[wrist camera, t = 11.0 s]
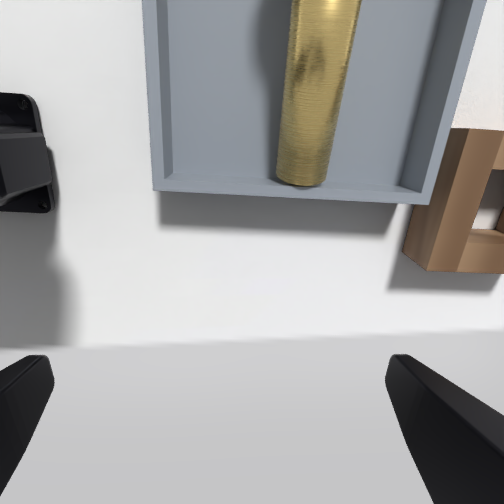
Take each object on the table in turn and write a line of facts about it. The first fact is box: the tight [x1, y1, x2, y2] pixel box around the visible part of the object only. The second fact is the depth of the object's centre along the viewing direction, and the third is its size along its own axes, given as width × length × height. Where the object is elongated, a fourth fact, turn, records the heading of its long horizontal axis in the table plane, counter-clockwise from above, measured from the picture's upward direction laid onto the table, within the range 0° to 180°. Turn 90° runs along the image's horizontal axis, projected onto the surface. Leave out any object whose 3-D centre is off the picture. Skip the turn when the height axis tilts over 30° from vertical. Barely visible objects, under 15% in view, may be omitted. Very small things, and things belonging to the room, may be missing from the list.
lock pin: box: [276, 0, 362, 186], centre depth 14 cm, size 4×4×12 cm
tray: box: [142, 0, 487, 205], centre depth 16 cm, size 15×13×3 cm
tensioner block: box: [402, 128, 504, 274], centre depth 19 cm, size 8×8×3 cm
